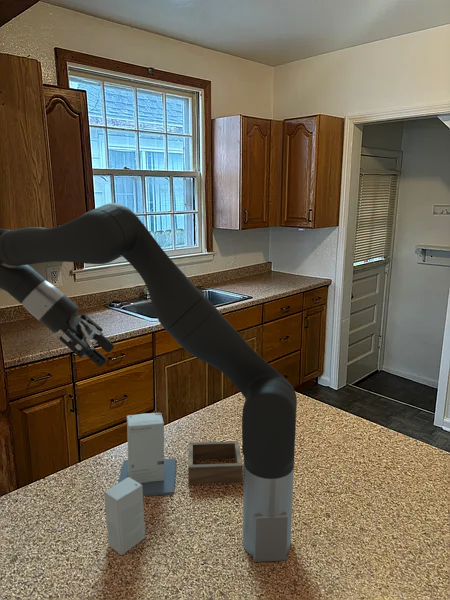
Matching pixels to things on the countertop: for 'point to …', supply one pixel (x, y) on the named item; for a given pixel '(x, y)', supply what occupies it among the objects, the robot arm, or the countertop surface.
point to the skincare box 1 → (124, 515)
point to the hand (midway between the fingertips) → (108, 356)
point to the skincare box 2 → (145, 447)
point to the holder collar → (214, 471)
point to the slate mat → (157, 486)
